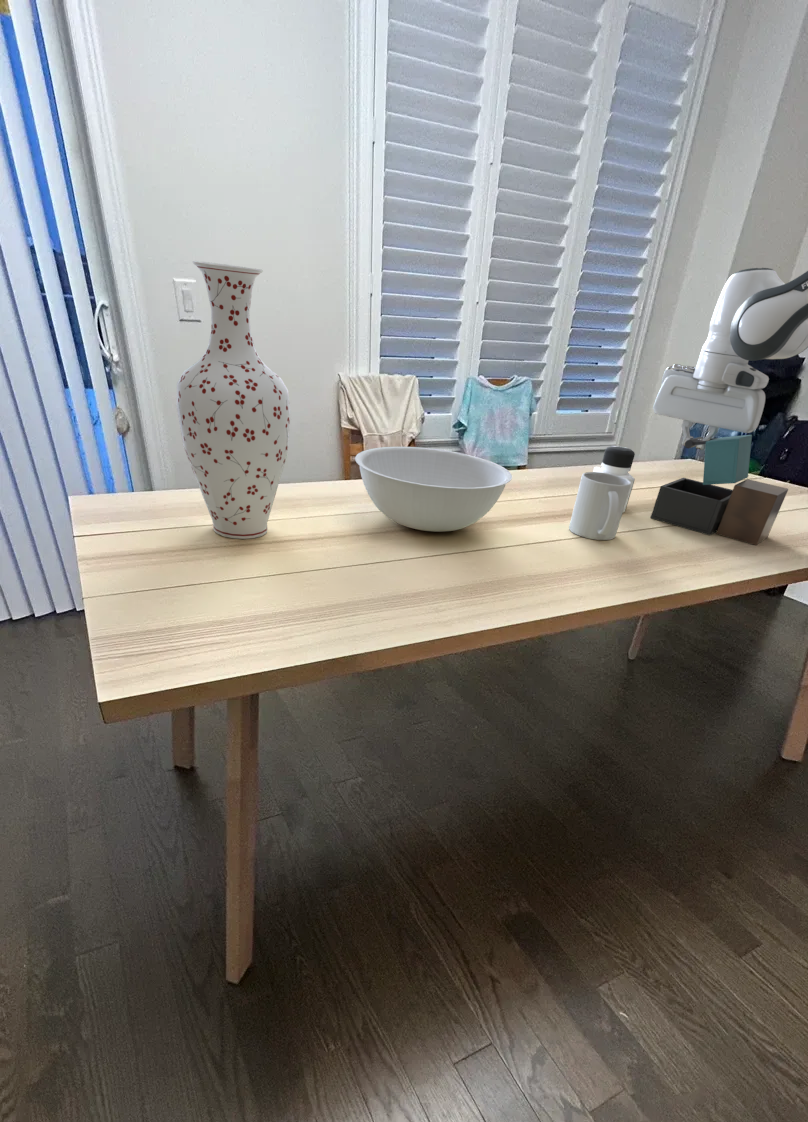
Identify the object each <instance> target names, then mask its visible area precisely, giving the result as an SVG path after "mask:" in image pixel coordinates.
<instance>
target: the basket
mask: <svg viewBox="0 0 808 1122" xmlns="http://www.w3.org/2000/svg"><path fill="white" fill-rule="evenodd" d="M732 491H733V489H731V488H727V487H723V486H719V485H716V484H710V485H703V481H699V480H694V479H691V478H686V477H681V478H679V479H675V480H673V481H670V482H668V483H665V484H662V485H660V487H659V489H658V493H657V496H656V499H655V501H654V504H653V509H652V512H651V515H650V519H653V520H656V521H659V522H662V523H666V524H670V525H673V526H677V527H680V528H684V529H687V530H690V531H694V532H696V533H697V532H698V533H700V534H704V535H708V536H711V535H713V534H714V533H716V532H717V530H718V527H719V525H720V522H721V519H722V517H723V514H724V512H725V509H726V506H727V504H728V501H729V499H730V496H731V494H732Z"/></svg>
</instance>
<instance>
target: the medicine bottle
mask: <svg viewBox="0 0 808 1122" xmlns="http://www.w3.org/2000/svg"><path fill="white" fill-rule="evenodd" d="M635 457H636V452H635V451H634V450H632V449H631V448H628V447H625V446H619V445H610V446H608V447H606V448H605V449H604V453H603V458H602V461H601V464H600V466H595V467H593V470H592V472H601V473H608V474H613V475H617V476H620V477H623V478H626V479H628V480H629V481H630V482H631V486H630V489H629V493H628V496H627V499H626V503H625V506H624V509H623V513H626V511H627V507H628V503H629V500H630V498H631V494H632V490H633V487H634V484H635V477H633V475H632V474H630V472H631V469H632V466H633V462H634V460H635ZM623 513H622V514H623Z"/></svg>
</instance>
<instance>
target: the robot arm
mask: <svg viewBox="0 0 808 1122" xmlns="http://www.w3.org/2000/svg"><path fill="white" fill-rule="evenodd" d="M807 349H808V270H806V271H805V272H804V273H802V274H800V275H799V276H798V277H796V278H794V279H792V280H790V281H789V282H786V283H785V282H784V281H783V280H782V279H781V278H780V277H779V275H778V272H777V271H776V270H775V269H773V268H769V267H752V268H751V267H750V268H745V269H740V270H738V271H735V272H734V273H733V274H732V275H730V276H729V278H727V280H726V282H725V284H724V285H723V288H722V290H721V292H720V295H719V297H718V299H717V302H716V304H715V307H714V310H713V313H712V316H711V319H710V322H709V329H708V335H707V338H706V340H705V342H704V343H703V345H702V347H701V350H700V353H699V356H698V359H697V362H696V365H695V366H690V365H682V364H679V363H674V364H673V365H670V366H668V367H667V368H665V371H664V372H663V375H662V377H661V386H660V388H659V391H658V393H657V395H656V398H655V400H654V403H653V406H652V410H653V413H654V415H659V416H661V417H662V416H663V417H668V418H673V419H676V420H677V419H678V420H681V421H682V423H681V431H682V436H683V438H682V441H681V444H680V445H681V446H683V447H685V442H686V441H687V440H690V439H694V438H695V437H694V436H692V435H691V433H690V427H692V426H693V424H694V423H696V424H701V425H705V426H708V428H707V432H708V434H707V435H706V436H705V437H703V438H704V439H699V440H698V441H708V440H710V439H711V438H714V436H715V435H717V433H718V431H719V429H724V430H728V431H733V432H739V433H743V434H750V433H753V432H754V431H755V430H756V429H758V426H759V424H760V421H761V418H762V415H763V412H764V408H765V404H766V393H765V391H764V390H763V389H765V388H766V387H767V385H768V384H769V382H770V381H769V380H770V378H769V375H767V374H765V373H763V372H762V371H759V370H758V369H757V368H755V367H753V366H752V365H750V364H749V361H750V362H753V361H760V360H784V359H789V358H792V357H795V356H798V355H799V354H802V353H803V352H805V351H806V350H807ZM705 447H706V444H702V445H696V447H695V449H697V450H701V451H705Z"/></svg>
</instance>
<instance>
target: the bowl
mask: <svg viewBox="0 0 808 1122" xmlns="http://www.w3.org/2000/svg"><path fill="white" fill-rule="evenodd" d="M354 460H355V462H356V464H357V465H358V466H359V472H360V476H361V480H362V483H363V486H364V488H365V490H366V493H367V495H368V496H369V498H370V500H371V502H372V503H373V504H374V505H375V507H376V508H377V509H378V511H380V512H381V514H383V515H384V516H385V517H386V518H388V519H390V520H391V521H392V522H394V523H397V524H398V525H401V526H404V527H407V528H410V529H413V530H414V529H415V530H418V531H425V532H434V533H435V532H452V531H458V530H461V529H465V528H468V527H469V526H471V525H473V524H475V523H476V522H479V520H481V519H482V518H483V517H485V516H486V515H487V514H488V513H489V512H490V511H491V509H492V508H493V507H494V506H495V504H496V503H497V502H498V500H499V499H500V497H501V496H502V494H503V492H504V490H505V487H506V485H507V484H509V483H510V482H511V481H512V479H513V474H512V473H511V472H510V471H509V470H508V469H507V468H505V467H504V466H503V465H501V464H498V463H496V462H494V461H491V460H488V459H486V458H482V457H478V456H475V455H471V454H468V453H467V454H466V453H462V452H458V451H451V450H445V449H440V448H439V449H438V448H429V447H421V446H420V447H419V446H418V447H417V446H383V447H375V448H370V449H369V448H368V449H366V450H362V451H360V452H358V453H357V454H356V455H355V456H354Z"/></svg>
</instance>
